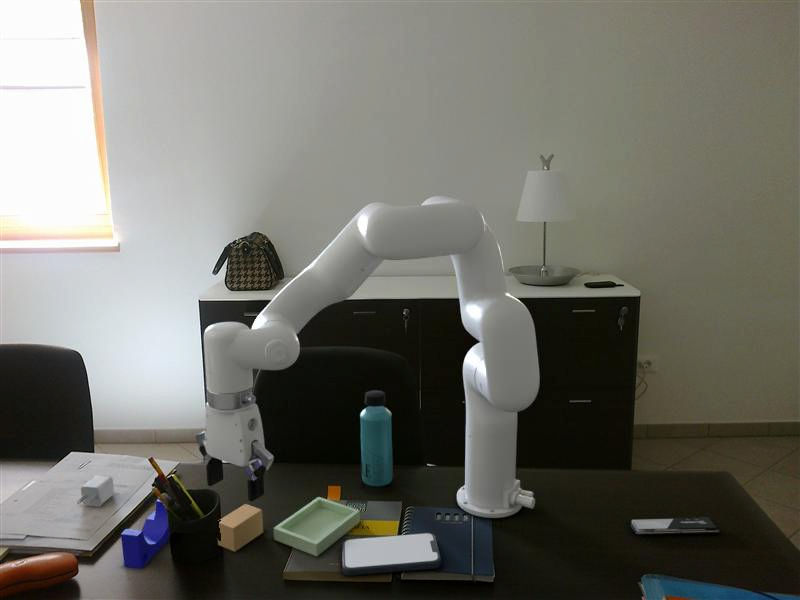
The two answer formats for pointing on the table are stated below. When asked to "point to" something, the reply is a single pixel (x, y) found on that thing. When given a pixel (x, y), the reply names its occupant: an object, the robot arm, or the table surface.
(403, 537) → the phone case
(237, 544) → the wooden block
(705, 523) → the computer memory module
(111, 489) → the usb wall charger
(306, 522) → the shallow green tray
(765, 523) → the table surface
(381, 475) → the beverage bottle
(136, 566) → the blue tape dispenser
